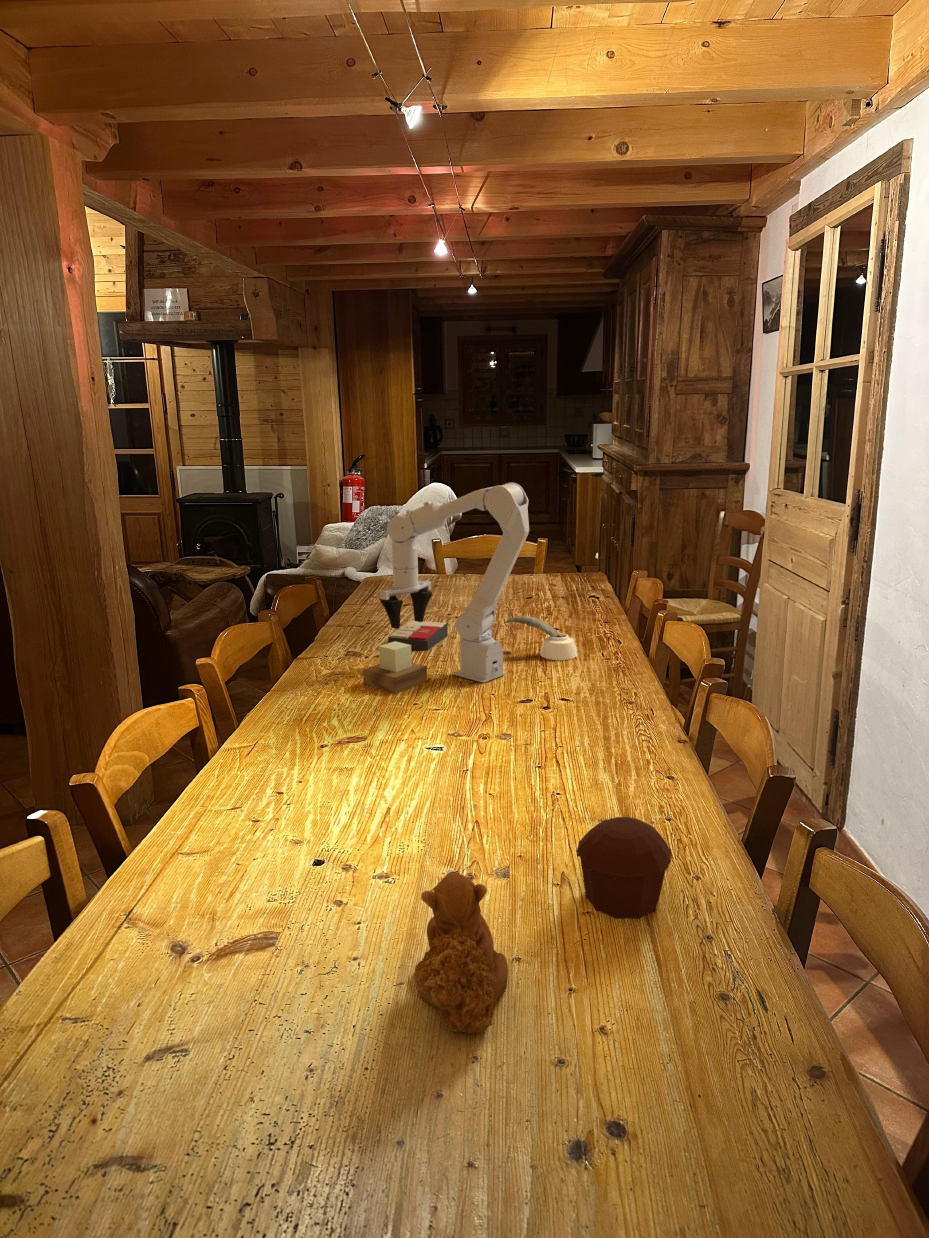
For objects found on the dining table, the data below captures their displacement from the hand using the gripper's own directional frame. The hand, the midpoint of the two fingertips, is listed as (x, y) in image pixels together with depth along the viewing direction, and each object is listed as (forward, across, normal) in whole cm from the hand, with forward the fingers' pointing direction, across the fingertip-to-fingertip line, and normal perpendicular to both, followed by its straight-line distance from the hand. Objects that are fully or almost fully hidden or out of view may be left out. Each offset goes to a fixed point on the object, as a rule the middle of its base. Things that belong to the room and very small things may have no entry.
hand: (407, 624), depth 195 cm
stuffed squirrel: (+11, +77, +87) cm, 116 cm away
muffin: (+11, +50, +89) cm, 103 cm away
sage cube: (+7, +10, +6) cm, 13 cm away
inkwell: (+11, -28, +18) cm, 35 cm away
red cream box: (+11, -18, -14) cm, 25 cm away
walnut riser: (+11, +10, +6) cm, 16 cm away
